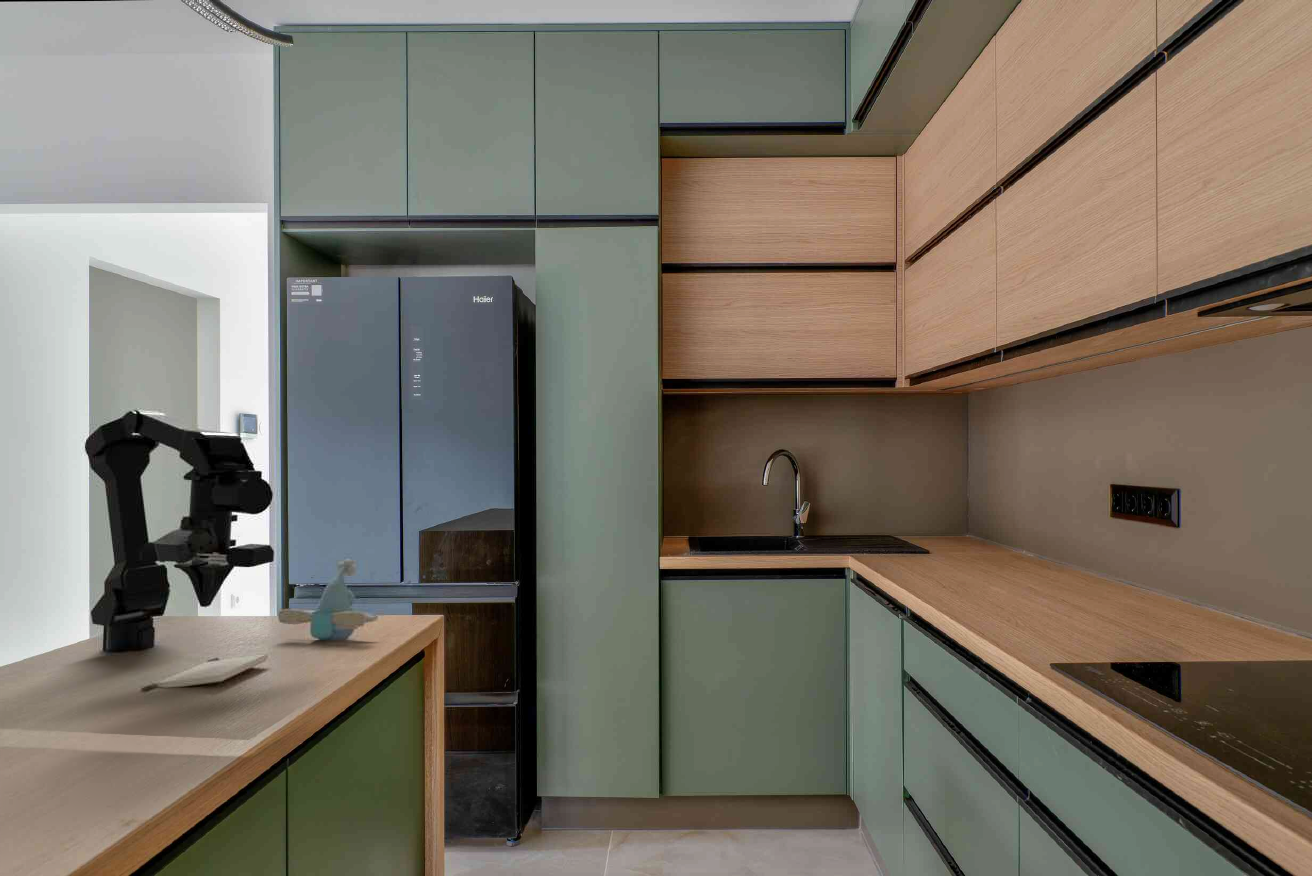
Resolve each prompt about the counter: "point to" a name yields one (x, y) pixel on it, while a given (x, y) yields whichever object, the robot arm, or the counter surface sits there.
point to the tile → (212, 671)
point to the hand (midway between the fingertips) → (205, 606)
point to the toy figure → (331, 610)
